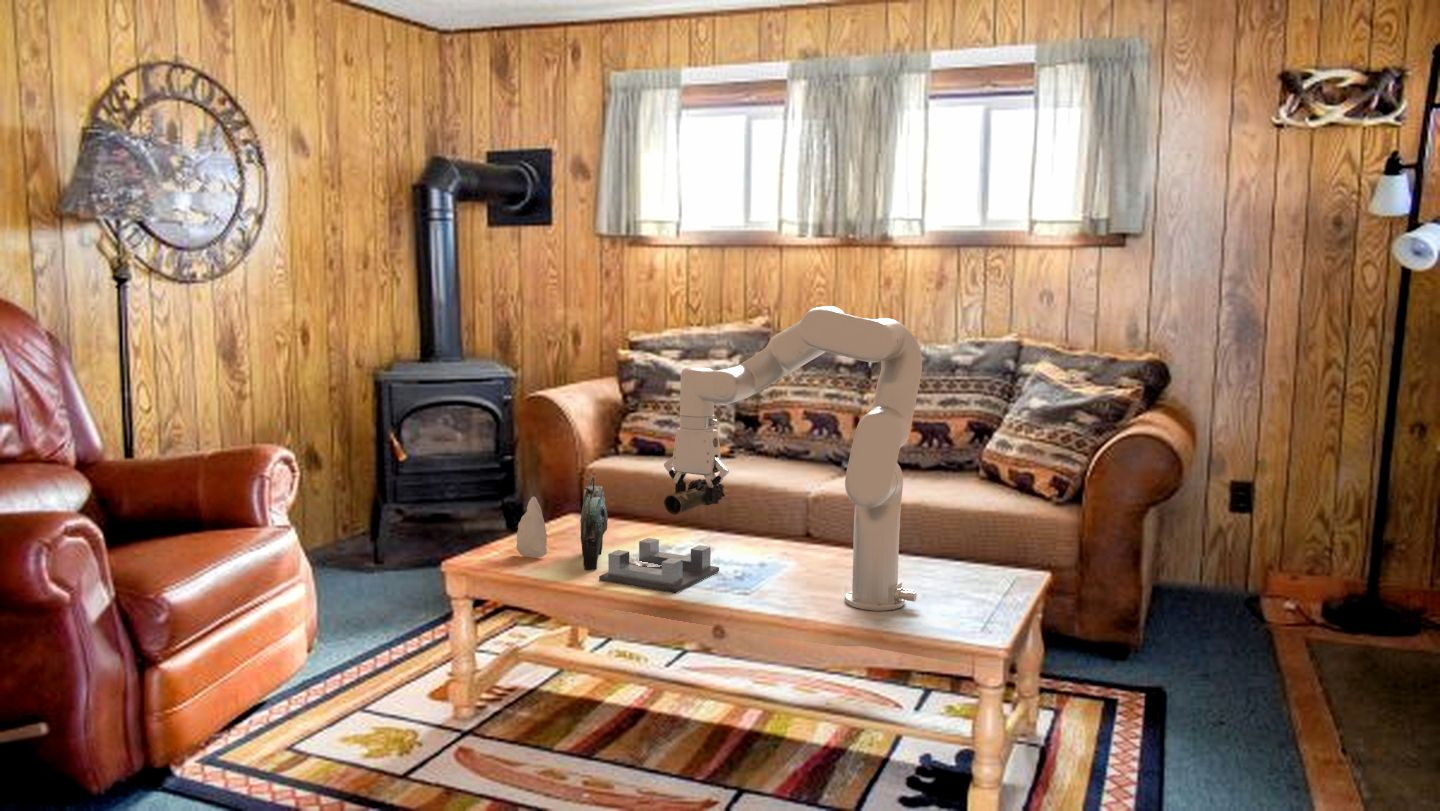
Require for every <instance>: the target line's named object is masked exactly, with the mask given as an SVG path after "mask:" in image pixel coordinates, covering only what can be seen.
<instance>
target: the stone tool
mask: <svg viewBox="0 0 1440 811" xmlns="http://www.w3.org/2000/svg"><path fill="white" fill-rule="evenodd" d="M543 516H544V515H543V511H542V508H541V506H540V503H539V501H538V499H537V497H536V496H532V497H530V499H529V501H528V503H527V506H526V512H525V513H524V514H523V515H522V516H521V518H520V521H518V524H517V528H518V529H517V533H516V551H517V552H518V553H519V555H520V556H523V557H525V558H532V559H534V558H535V559H537V558H541V557H544V556H546V555H547V553H548V551H547V545H548V544H547V537H548V534H547V528H546V524H545V520H544V517H543Z"/></svg>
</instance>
